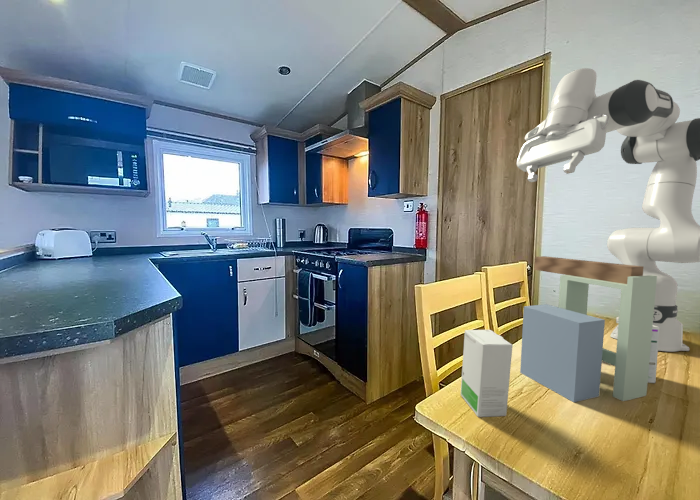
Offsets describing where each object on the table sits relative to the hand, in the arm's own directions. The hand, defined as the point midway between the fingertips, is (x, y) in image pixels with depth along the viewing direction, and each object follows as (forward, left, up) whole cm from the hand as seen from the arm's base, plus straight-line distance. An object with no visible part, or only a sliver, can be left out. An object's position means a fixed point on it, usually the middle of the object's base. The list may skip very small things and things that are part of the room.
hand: (549, 176), depth 74 cm
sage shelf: (-5, +12, -51) cm, 53 cm away
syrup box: (-14, +20, -52) cm, 57 cm away
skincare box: (+24, -8, -52) cm, 57 cm away
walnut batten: (-8, +8, -25) cm, 28 cm away
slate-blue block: (+3, +4, -51) cm, 52 cm away
